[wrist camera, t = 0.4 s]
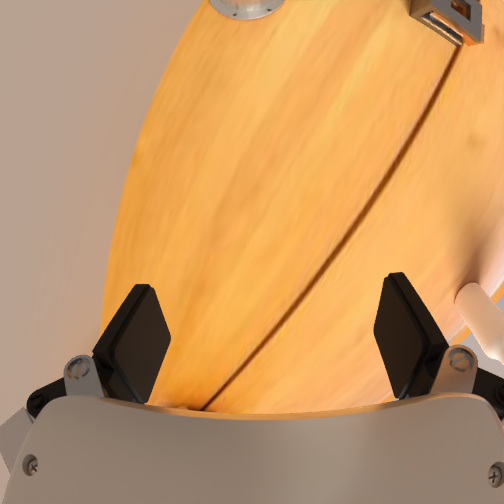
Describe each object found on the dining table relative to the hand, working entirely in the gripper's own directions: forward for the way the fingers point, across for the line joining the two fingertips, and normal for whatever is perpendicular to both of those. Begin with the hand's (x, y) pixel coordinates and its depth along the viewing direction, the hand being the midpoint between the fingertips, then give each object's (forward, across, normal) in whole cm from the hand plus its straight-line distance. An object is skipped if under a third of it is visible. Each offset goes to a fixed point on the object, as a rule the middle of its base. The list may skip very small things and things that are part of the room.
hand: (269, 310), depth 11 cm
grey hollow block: (+37, -35, -31) cm, 60 cm away
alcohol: (+37, -49, +32) cm, 69 cm away
